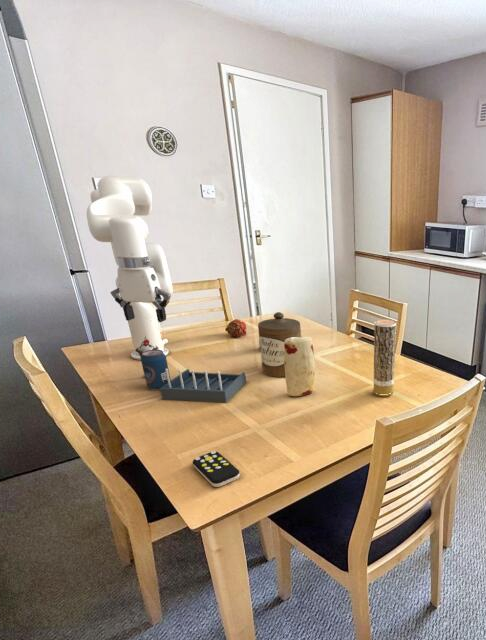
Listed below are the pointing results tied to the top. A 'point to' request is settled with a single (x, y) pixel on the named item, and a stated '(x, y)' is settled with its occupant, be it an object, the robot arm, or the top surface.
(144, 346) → the sundae
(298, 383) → the food model
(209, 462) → the remote control
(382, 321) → the wooden log
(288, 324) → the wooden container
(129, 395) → the top surface
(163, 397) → the dish rack
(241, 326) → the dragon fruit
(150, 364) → the soda can
